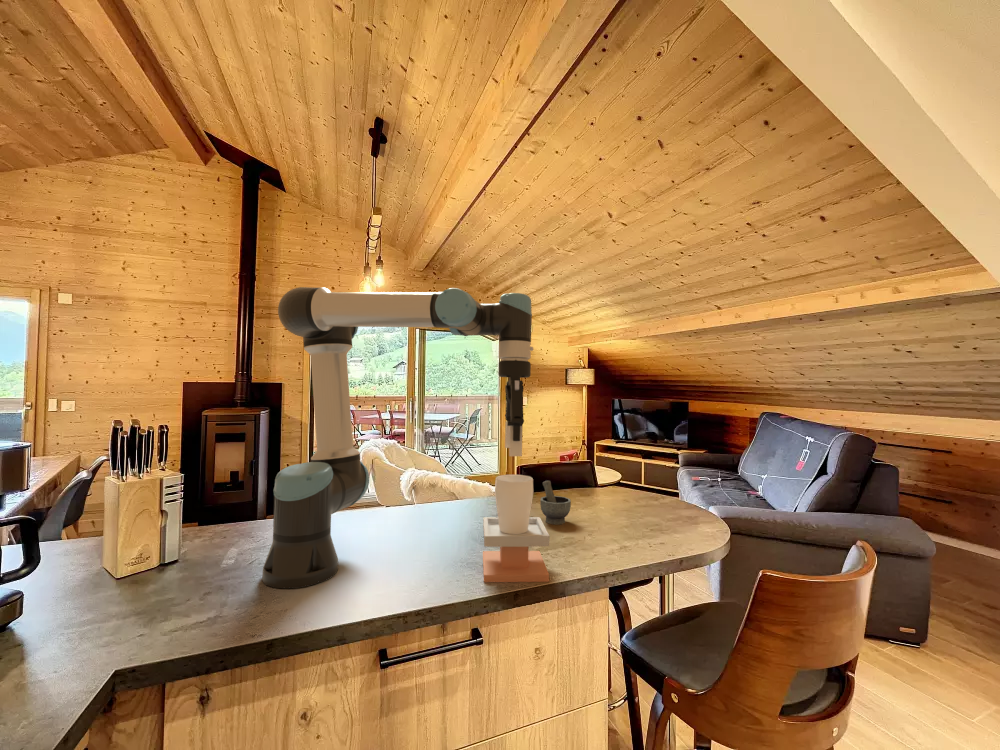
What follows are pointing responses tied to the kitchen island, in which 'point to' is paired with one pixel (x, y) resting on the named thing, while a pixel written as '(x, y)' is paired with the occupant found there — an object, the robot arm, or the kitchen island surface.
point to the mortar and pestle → (554, 506)
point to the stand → (514, 553)
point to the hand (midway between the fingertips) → (512, 451)
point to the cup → (513, 502)
